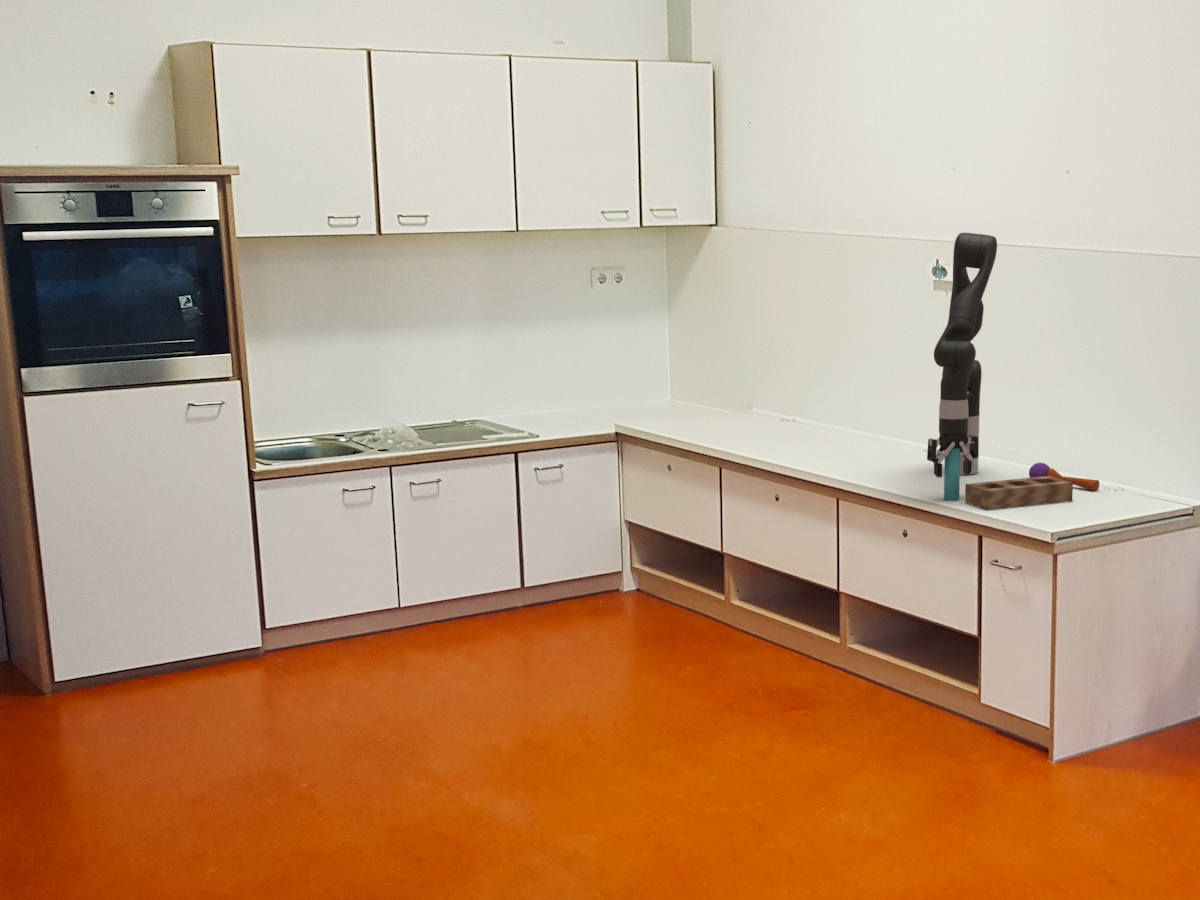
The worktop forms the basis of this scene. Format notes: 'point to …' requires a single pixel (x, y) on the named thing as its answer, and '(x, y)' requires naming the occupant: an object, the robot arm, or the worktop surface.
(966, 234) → the robot arm
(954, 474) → the pin
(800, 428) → the worktop surface
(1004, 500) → the bore block
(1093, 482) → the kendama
